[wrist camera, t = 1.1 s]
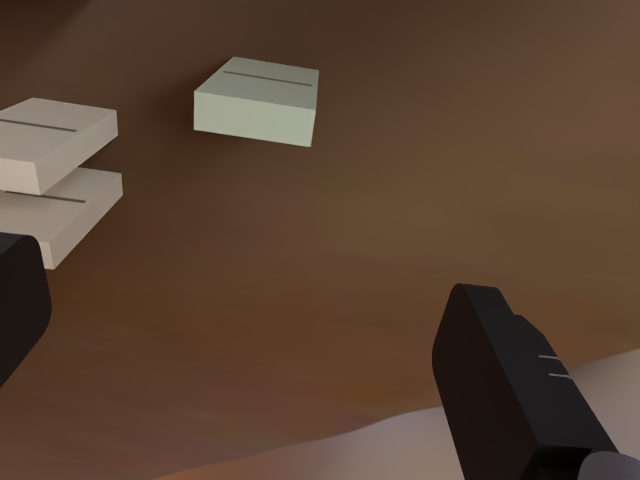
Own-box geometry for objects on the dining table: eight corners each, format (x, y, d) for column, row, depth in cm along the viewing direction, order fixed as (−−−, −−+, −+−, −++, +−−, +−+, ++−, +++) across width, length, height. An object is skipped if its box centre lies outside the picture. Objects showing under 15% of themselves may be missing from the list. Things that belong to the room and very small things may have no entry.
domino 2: (43, 161, 30) (-58, 228, 22) (121, 172, 30) (49, 242, 22) (47, 184, 30) (-49, 256, 23) (122, 195, 31) (53, 269, 23)
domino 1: (32, 97, 27) (-84, 145, 20) (116, 109, 28) (34, 162, 20) (36, 123, 28) (-73, 180, 20) (118, 135, 29) (40, 195, 21)
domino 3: (233, 55, 26) (194, 90, 18) (318, 69, 26) (315, 109, 19) (232, 85, 27) (193, 130, 19) (315, 98, 27) (310, 147, 19)
